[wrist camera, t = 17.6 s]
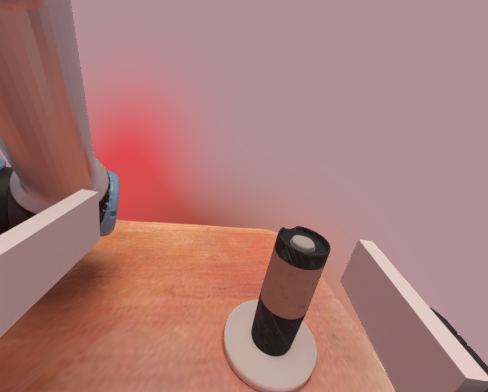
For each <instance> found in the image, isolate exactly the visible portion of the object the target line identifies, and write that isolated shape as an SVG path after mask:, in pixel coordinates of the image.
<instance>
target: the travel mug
mask: <svg viewBox="0 0 488 392" xmlns="http://www.w3.org/2000/svg"><path fill="white" fill-rule="evenodd" d="M329 253H330V245H329V243H328V241H327V240H326V239H325V238H324V237H323V236H321V235H320V234H318V233H317V232H315V231H312V230H310V229H308V228H304V227H300V226H297V227H295V228H292V229H285V228H284V227H282V228H281V229H280V231H279V233H278V236H277V239H276V242H275V246H274V249H273V252H272V256H271V259H270V262H269V265H268V269H267V272H266V275H265V279H264V282H263V285H262V289H261V292H260V296H259V300H258V304H257V308H256V312H255V316H254V320H253V325H252V330H251V335H252V339H253V342H254V344H255V345H256V346H257V348H258V349H259V350H260V351H262V352H263V353H265V354H267V355H270V356H276V357H277V356H282V355H284V354H286V353H287V352H288V351H289V349H290V347H291V345H292V343H293V341H294V339H295V337H296V335H297V332H298V330H299V328H300V326H301V323H302V321H303V319H304V317H305V315H306V312H307V310H308V307H309V305H310V302H311V299H312V297H313V294H314V292H315V289H316V286H317V284H318V281H319V279H320V276H321V273H322V271H323V268H324V266H325V263H326V260H327V258H328V255H329Z"/></svg>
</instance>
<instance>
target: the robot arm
mask: <svg viewBox="0 0 488 392" xmlns="http://www.w3.org/2000/svg"><path fill="white" fill-rule="evenodd" d="M0 149H1V150H2V152H3V154H4V155H5V157H6V159H7V160H8V162H9V164H10V165H11V167H6V162H5V161H4V159H3V158H2V157H1V156H0V337H1V336H2V335H4V334H5V333H6V332H7V331H8V330H9V329H10V328H11V327H12V326H13V325H14V324H15V323H16V322H17V321H18V320H19V319H20V318H21V317H22V316H23V315H24V314H25V313H26V312H27V311H28V310H29V309H30V308H31V307H32V306H33V305H34V304H35V303H36V302H37V301H38V300H39V299H40V298H41V297H42V296H43V295H44V294H46V293H47V292H48V291H49V290H50V289H51V288H52V287H53V286H54V285H55V284H56V283H57V282H58V281H59V280H60V279H61V278H62V277H63V276H64V275H65V274H66V273H67V272H68V271H69V270H70V269H71V268H72V267H73V266H74V265H75V264H76V263H77V262H78V261H79V260H80V259H81V258H82V257H83V256H84V255H85V254H86V253H88V252H89V251H90V250H91V249H92V248H93V247H94V246H95V245H96V244H97V243H98V242H99V241H100V236H107V235H109V234H110V233H112V231H113V230H114V227H115V223H116V218H117V213H116V212H117V208H118V199H119V179H118V175H117V174H116V173H115V172H110V171H108V170H106V169H105V168H104V166H103V165H102V164H101V163H100V162H99V161H98V160H97V159H96V158H95V157H94V154H93V147H92V140H91V134H90V128H89V121H88V114H87V107H86V100H85V94H84V87H83V80H82V74H81V67H80V60H79V54H78V48H77V41H76V33H75V27H74V20H73V14H72V7H71V1H70V0H0ZM341 283H342V285H343V287H344V289H345V291H346V293H347V295H348V297H349V299H350V301H351V303H352V305H353V307H354V309H355V311H356V313H357V315H358V317H359V318H360V321H361V323H362V325H363V327H364V329H365V331H366V333H367V335H368V337H369V339H370V341H371V343H372V345H373V347H374V349H375V351H376V353H377V355H378V357H379V359H380V361H381V363H382V365H383V367H384V369H385V371H386V373H387V375H388V377H389V379H390V381H391V383H392V385H393V387H394V389H395V391H396V392H488V367H487V365H486V364H485V363H484V362H483V361H482V360H481V359H480V357H479V356H478V355H477V354H476V353H475V352H474V351H473V350H472V349H471V347H470V346H467V343H466V342H465V341H464V339H463V338H462V337H461V336H460V335H458V334H457V332H456V330H455V329H454V328H453V327H452V326H451V325H450V324H449V323H448V321H447V320H446V319H445V318H443V317H442V316H441V315H440V314H438V313H437V312H436V311H435V310H433V309H432V308H429V307H428V305H427V304H426V303H425V302H424V301H423V300H422V298H421V297H420V296H419V295H418V294H417V293H416V292H415V290H414V289H413V288H412V287H411V286H410V284H409V283H408V282H407V281H406V280H405V279H404V277H403V276H402V275H401V274H400V273H399V272H398V271H397V269H396V268H395V267H394V266H393V265H392V264H391V262H390V261H389V260H388V259H387V258H386V257H385V255H384V254H383V253H382V252H381V251H380V250H379V248H378V247H377V246H376V245H375V244H374V243H373V242H371V241H365V240H360V239H359V240H358V242H357V244H356V246H355V249H354V251H353V253H352V256H351V258H350V260H349V262H348V265H347V267H346V269H345V272H344V274H343V276H342V278H341Z"/></svg>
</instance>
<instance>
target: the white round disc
mask: <svg viewBox="0 0 488 392" xmlns="http://www.w3.org/2000/svg"><path fill="white" fill-rule="evenodd" d="M258 300H259V299H254V300H249V301H246V302H243V303H241V304H240V305H238V306H237V307H236V308H235V309H233V311H232V312H231V313H230V315H229V317H228V319H227V322H226V326H225V330H224V334H223V347H224V352H225V355H226V358H227V361H228V363H229V365H230V366H231V368H232V370H233V371H234V372H235V373H236V375H237V376H238V377H239V378H240V379H241V380H242V381H243V382H244V383H246V384H247V385H248V386H250V387H251V388H253V389H255V390H257V391H259V392H296V391H297V390H299V389H300V388H302V387H303V386H304V385H305V384H306V382H307V381H308V379H309V377H310V375H311V373H312V371H313V369H314V367H315V363H316V358H317V350H316V344H315V340H314V338H313V335H312V333H311V331H310V329H309V328H308V326H307V325H306V323H305V322H304V321H302V323H301V326H300V328H299V330H298V332H297V335H296V337H295V339H294V341H293V343H292V345H291V347H290V349H289V351H288V352H287V353H286V354H284V355H282V356H277V357H276V356H270V355H267V354H265V353H263V352H262V351H260V350H259V349H258V348H257V346H256V345H255V344H254V342H253V339H252V335H251V330H252V325H253V320H254V316H255V312H256V308H257V304H258Z"/></svg>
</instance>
